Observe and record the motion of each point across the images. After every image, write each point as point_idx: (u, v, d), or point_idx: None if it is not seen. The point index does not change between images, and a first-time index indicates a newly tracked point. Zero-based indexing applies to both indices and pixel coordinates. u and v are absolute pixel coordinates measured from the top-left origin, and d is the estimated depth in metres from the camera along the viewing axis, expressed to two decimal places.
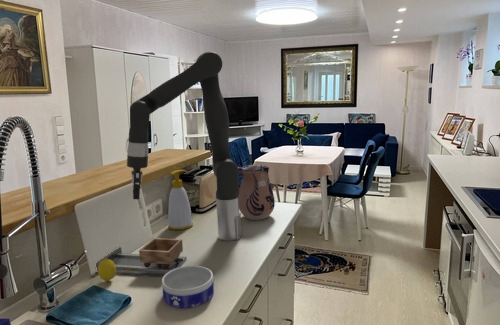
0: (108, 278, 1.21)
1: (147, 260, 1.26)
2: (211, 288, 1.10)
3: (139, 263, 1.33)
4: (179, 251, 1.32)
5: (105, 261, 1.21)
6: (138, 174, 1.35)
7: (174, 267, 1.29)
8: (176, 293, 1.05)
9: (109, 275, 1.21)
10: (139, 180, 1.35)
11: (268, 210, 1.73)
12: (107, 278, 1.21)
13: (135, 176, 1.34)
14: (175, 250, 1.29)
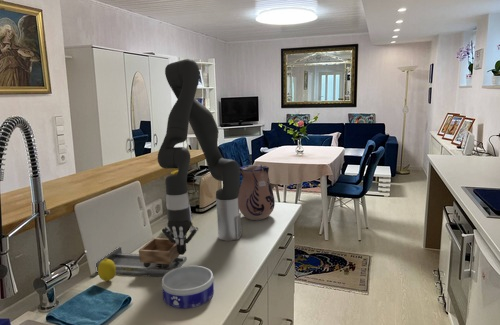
0: (108, 278, 1.21)
1: (147, 260, 1.26)
2: (211, 288, 1.10)
3: (139, 263, 1.33)
4: None
5: (105, 261, 1.21)
6: (197, 230, 1.26)
7: (174, 267, 1.29)
8: (176, 293, 1.05)
9: (109, 275, 1.21)
10: None
11: (268, 210, 1.73)
12: (107, 278, 1.21)
13: (194, 233, 1.26)
14: (175, 250, 1.29)
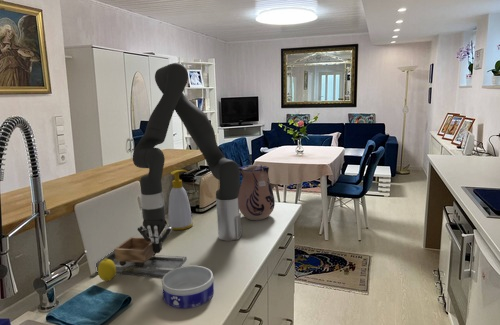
0: (108, 278, 1.21)
1: (122, 258, 1.28)
2: (211, 288, 1.10)
3: None
4: None
5: (105, 261, 1.21)
6: (171, 229, 1.28)
7: (174, 267, 1.29)
8: (176, 293, 1.05)
9: (109, 275, 1.21)
10: None
11: (268, 210, 1.73)
12: (107, 278, 1.21)
13: (169, 232, 1.28)
14: (150, 249, 1.31)
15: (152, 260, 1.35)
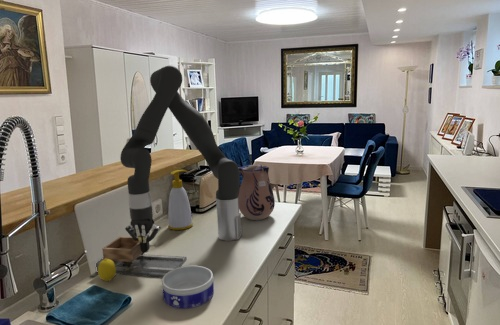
0: (108, 278, 1.21)
1: (110, 258, 1.29)
2: (211, 288, 1.10)
3: (139, 263, 1.33)
4: None
5: (105, 261, 1.21)
6: (159, 229, 1.29)
7: (174, 267, 1.29)
8: (176, 293, 1.05)
9: (109, 275, 1.21)
10: (156, 233, 1.30)
11: (268, 210, 1.73)
12: (107, 278, 1.21)
13: (156, 232, 1.29)
14: (138, 248, 1.32)
15: (152, 260, 1.35)
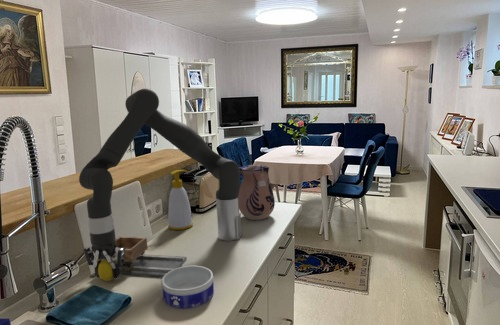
0: (108, 278, 1.21)
1: None
2: (211, 288, 1.10)
3: (139, 263, 1.33)
4: (143, 249, 1.35)
5: (105, 261, 1.21)
6: (123, 250, 1.20)
7: (174, 267, 1.29)
8: (176, 293, 1.05)
9: (109, 275, 1.21)
10: (124, 256, 1.21)
11: (268, 210, 1.73)
12: (107, 278, 1.21)
13: (121, 253, 1.19)
14: (138, 248, 1.32)
15: (152, 260, 1.35)
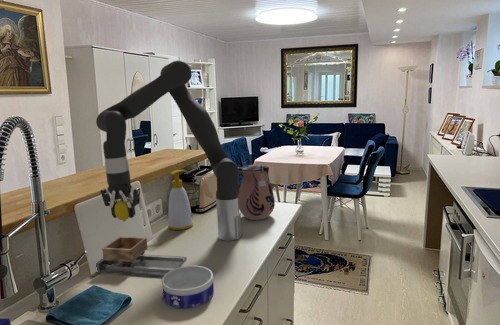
0: (124, 217, 1.28)
1: (110, 258, 1.29)
2: (211, 288, 1.10)
3: (139, 263, 1.33)
4: (143, 249, 1.35)
5: (121, 201, 1.28)
6: (138, 190, 1.27)
7: (174, 267, 1.29)
8: (176, 293, 1.05)
9: (126, 214, 1.28)
10: (139, 195, 1.28)
11: (268, 210, 1.73)
12: (123, 217, 1.28)
13: (137, 193, 1.26)
14: (138, 248, 1.32)
15: (152, 260, 1.35)
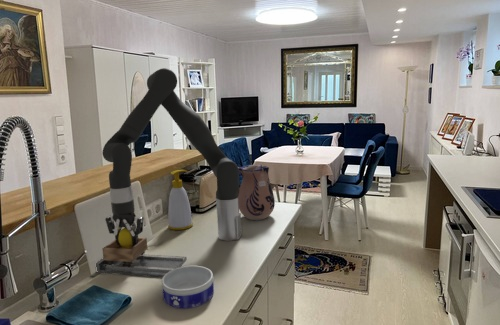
0: (128, 245, 1.31)
1: (110, 258, 1.29)
2: (211, 288, 1.10)
3: (139, 263, 1.33)
4: (143, 249, 1.35)
5: (125, 229, 1.31)
6: (142, 219, 1.30)
7: (174, 267, 1.29)
8: (176, 293, 1.05)
9: (129, 242, 1.31)
10: (142, 224, 1.31)
11: (268, 210, 1.73)
12: (127, 245, 1.31)
13: (140, 222, 1.30)
14: (138, 248, 1.32)
15: (152, 260, 1.35)
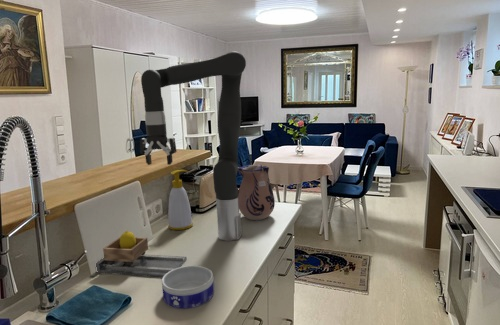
0: None
1: (111, 258, 1.29)
2: (211, 288, 1.10)
3: (139, 263, 1.33)
4: (144, 249, 1.35)
5: (126, 233, 1.32)
6: (173, 139, 1.44)
7: (174, 267, 1.29)
8: (176, 293, 1.05)
9: (130, 246, 1.31)
10: (175, 144, 1.44)
11: (268, 210, 1.73)
12: None
13: (173, 141, 1.43)
14: (139, 248, 1.32)
15: (152, 260, 1.35)
